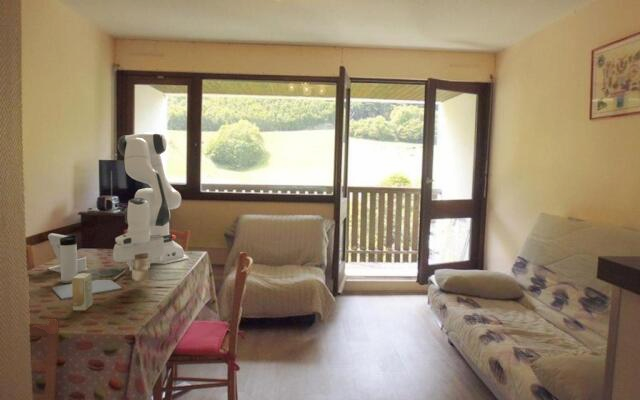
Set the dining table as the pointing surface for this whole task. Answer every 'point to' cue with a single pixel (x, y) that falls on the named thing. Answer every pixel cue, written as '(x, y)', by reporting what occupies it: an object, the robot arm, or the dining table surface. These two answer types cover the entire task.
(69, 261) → the travel mug
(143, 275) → the birch block
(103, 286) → the grey mat
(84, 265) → the phone holder
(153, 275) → the dining table surface
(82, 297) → the skincare box
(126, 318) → the dining table surface
